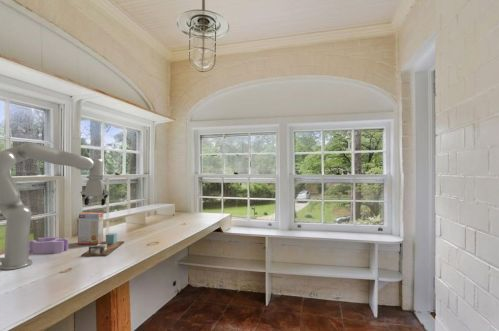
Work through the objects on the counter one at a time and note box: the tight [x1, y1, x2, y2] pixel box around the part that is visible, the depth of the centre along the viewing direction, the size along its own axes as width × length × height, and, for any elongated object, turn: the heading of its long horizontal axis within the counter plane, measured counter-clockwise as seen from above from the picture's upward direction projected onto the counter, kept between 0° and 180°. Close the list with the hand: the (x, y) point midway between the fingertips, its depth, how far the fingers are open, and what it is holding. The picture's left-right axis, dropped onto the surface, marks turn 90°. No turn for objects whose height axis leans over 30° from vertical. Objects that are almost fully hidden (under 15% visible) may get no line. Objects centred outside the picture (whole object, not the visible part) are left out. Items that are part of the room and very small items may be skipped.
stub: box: [105, 232, 118, 244], centre depth 178 cm, size 5×5×6 cm
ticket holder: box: [81, 240, 125, 257], centre depth 168 cm, size 14×28×5 cm, turn 6°
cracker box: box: [77, 211, 105, 246], centre depth 179 cm, size 14×6×21 cm, turn 88°
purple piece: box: [29, 236, 69, 255], centre depth 162 cm, size 20×12×7 cm, turn 89°
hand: (94, 205), depth 166 cm, fingers open, 9 cm apart
